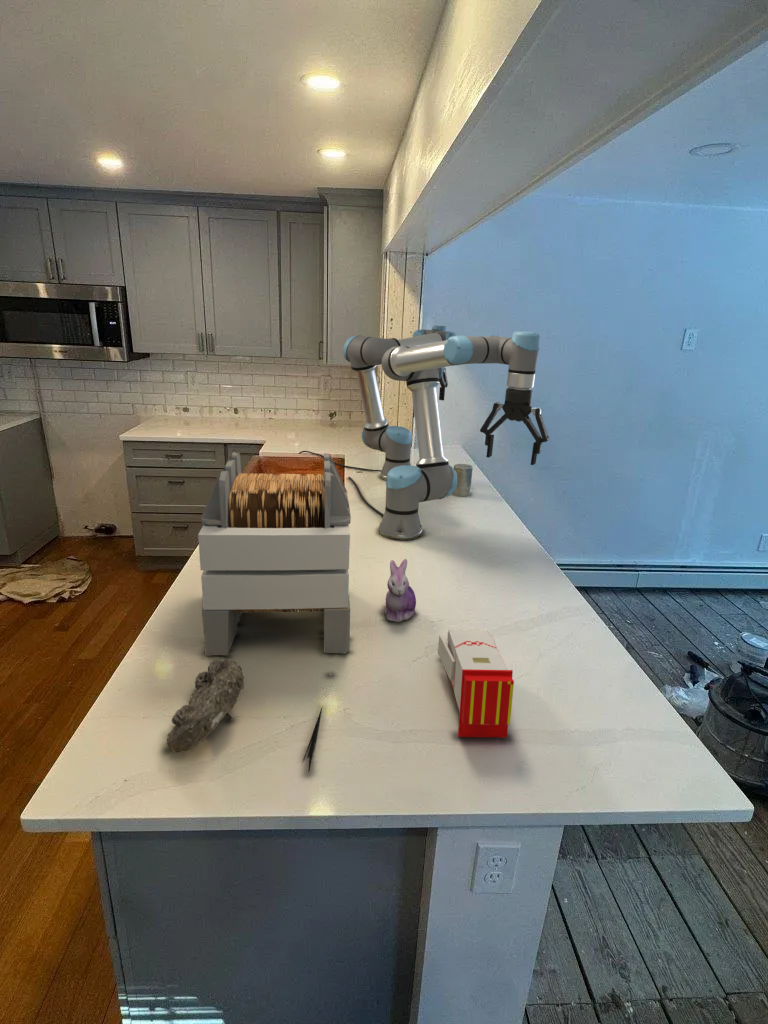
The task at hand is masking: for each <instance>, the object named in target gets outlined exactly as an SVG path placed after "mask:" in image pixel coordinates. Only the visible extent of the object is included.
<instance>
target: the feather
mask: <svg viewBox="0 0 768 1024" xmlns="http://www.w3.org/2000/svg"><path fill="white" fill-rule="evenodd" d="M329 675H330V676H331V675H332V674H331V673H330V674H329ZM322 710H323V707H321V708H320V710H319V713H318V716H317V719H316V723H315V725H314V728H313V731H312V733H311V737H310V739H309V742H308V745H307V748H306V751H305V754H304V757H303V760H302V763H301V767H302V765H303V763H304V761H305V758H308V759H309V760H308V762H307V763H308V764H307V766H308V771H310V770H311V766H312V765H311V764H312V760H313V757H315V756H314V755H315V751H316V749H315V746H317V739H318V733H319V729H320V722H321V717H322V712H323V711H322ZM313 754H314V755H313ZM306 755H307V757H306Z"/></svg>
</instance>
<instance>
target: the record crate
mask: <svg viewBox="0 0 768 1024" xmlns="http://www.w3.org/2000/svg"><path fill="white" fill-rule="evenodd" d="M323 456H324V458H323V473H322V474H321V473H318V474H316V475H315V474H314V473H306V474H303V475H302V474H301V473H280V474H273V473H244V472H243V473H242V466H241V463H242V462H241V453H240V452H235V451H233V452H231V455H230V457H229V459H227V460H226V463H225V466H224V468H223V470H222V471H220V474H219V475H218V477H217V479H216V482H215V483H214V486H213V489H212V491H211V494H210V495H209V498H208V499H207V502H206V505H205V507H204V509H203V511H202V514H201V517H200V520H201V524H202V527H201V529H200V530H199V532H198V535H197V538H198V550H199V552H198V553H199V563H200V565H199V567H200V571H202V573H201V575H200V580H201V581H200V582H201V594H202V605H203V607H202V609H201V610H202V611H201V617H202V629H203V638H204V639H203V640H204V649H205V650H204V651H205V652H204V655H205V656H206V657H212V656H228V654H229V652H230V650H231V647H232V645H233V643H234V640H235V638H236V635H237V632H238V623H240V620H241V617H242V614H244V613H250V614H251V613H253V614H254V613H257V614H258V613H298V612H301V613H302V612H308V613H309V612H322V614H323V654H344V655H346V654H347V653H349V652H350V639H351V604H350V595H349V594H350V593H349V586H350V585H349V584H350V572H349V571H350V570H349V569H350V549H351V548H350V547H351V545H350V542H351V533H350V532H351V531H350V526H349V525H350V524H351V520H352V516H351V515H352V514H351V509H350V502H349V496H348V490H347V488H346V486H345V484H344V482H343V480H342V478H341V474H340V473H339V471H338V469H337V465H336V464H334V462H335V461H334V460H333V458H332V455H331V454H330V453H326V452H324V453H323Z"/></svg>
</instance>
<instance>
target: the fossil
mask: <svg viewBox="0 0 768 1024" xmlns="http://www.w3.org/2000/svg"><path fill="white" fill-rule="evenodd" d="M243 670H244V669H243V667H242V665H240V664H237V662H236V661H235V660H234V659H232V658H231V659H227V658H226V659H224V660H223V661H222V660H217V659H212V660H211V661H210V663H209V665H208V666H207V671H201V672H199V673H198V674H197V675H196V676H195V680H194V684H195V685H194V687H195V689H194V690H193V693H192V694H191V697H190V698H189V700H188V704H184V705H182V706H181V707H180V709H177V710H176V711H175V713H174V715H173V716H172V718H171V723H172V724H173V727H172V730H171V731H170V732H168V734H167V738H166V741H167V742H166V745H167V749H168V750H169V751H173V752H174V753H176V754H178V753H182V752H188V751H189V752H192V751H193V750H195V748H196V747H197V746H199V744H200V743H201V742H203V741H204V740H205V739H206V738H207V737H208V736H209V735H210V734H211V733H212V732H214V730H215V729H217V727H218V726H219V724H220V722H221V721H222V720H223V719H224V718H225V716H226V717H227V719H229V720H233V717H232V715H230V714H229V710H230V709H231V708H234V706H235V704H236V703H237V702H238V699H239V697H240V695H241V693H242V691H243V690H245V689H244V688H245V675H244V671H243Z"/></svg>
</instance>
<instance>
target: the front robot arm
mask: <svg viewBox="0 0 768 1024" xmlns="http://www.w3.org/2000/svg"><path fill="white" fill-rule="evenodd" d="M511 336H512V337H505V336H499V335H486V336H472V335H471V336H467V335H457V336H453V337H450V338H449V339H448V340H445V341H440V342H435V343H431V344H426V345H421V346H397V347H392V348H390V349H389V350H387V351H386V352H385V354H384V355H383V358H382V364H381V368H382V371H383V373H384V374H385V375H386V376H387V377H388V378H389V379H390V380H393V381H398V382H406V383H405V384H406V388H407V389H408V390H409V391H410V392H411V396H412V397H411V398H412V405H413V406H412V407H413V414H414V423H415V430H416V439H417V441H416V442H417V448H418V457H419V459H418V461H417V462H416V463H415V465H412V464H411V465H408V466H405V465H403V466H397V467H394V468H392V469H391V470H390V471H389V472H388V474H387V480H385V504H384V505H385V507H384V508H385V509H384V513H382V512H381V511H380V510H378V509H377V508H375V507H374V506H373V505H371V504H370V503H369V502H368V501H367V500H366V499H365V497H364V496H363V494H362V492H361V491H360V489H359V486H358V485H357V483H356V482H355V481H354V480H353V478H352V477H350V476H348V479H349V480H350V481H351V482H352V483H353V485H354V486H355V488H356V490H357V492H358V494H359V496H360V498H361V500H363V502H364V503H365V504H366V505H367V506H368V507H369V508H371V509H372V510H373V511H375V512H376V513H377V514H379V515H380V516H381V517H382V519H381V522H379V525H378V533H379V534H380V535H381V536H382V537H385V538H387V539H389V540H395V541H410V540H415V539H418V538H420V537H421V536H422V535H423V525H422V524H421V518H420V515H419V507H420V506H419V505H420V503H424V502H430V501H437V500H443V499H445V498H448V497H449V498H450V497H451V496H452V495H453V492H454V491H455V489H456V486H457V474H456V471H454V466H452V465H451V464H450V463H449V459H448V458H446V457H445V455H444V448H443V440H442V439H443V438H442V430H441V421H440V411H439V404H438V396H437V387H438V386H439V385H440V382H439V379H440V378H441V377H442V375H443V371H444V369H445V368H446V367H447V368H449V367H453V366H462V365H475V364H477V365H478V364H480V365H481V364H499V365H507V366H508V371H507V379H506V386H507V388H506V389H505V395H504V403H500V402H499V401H497V402H494V403H493V405H492V409H491V411H490V413H489V414H488V416H487V417H486V419H485V421H484V422H483V424H482V426H481V427H480V429H479V432H480V433H483V434H484V435H485V439H484V446H486V447H487V448H486V455H485V456H486V458H491V457H493V449H494V441H495V434H493V433H494V432H495V431H496V430H497V429H498V428H499V427H500V426H501V425H503V424H504V422H506V421H507V420H509V421H511V422H512V421H514V422H515V421H516V422H520V423H521V422H522V423H523V424H524V425H525V426H526V428H527V429H528V431H529V433H530V435H531V436H532V437H533V439H534V440H535V441H534V442H533V444H532V451H531V459H530V466H534V465H536V463H537V456H538V455H540V454H541V452H542V446H543V443H546V442H548V441H550V436H549V433H548V430H547V427H546V424H545V421H544V417H543V408H542V407H540V406H539V407H532V402H533V394H534V391H533V388H534V386H535V377H536V369H537V363H538V357H539V352H540V334H539V333H538V332H535V331H525V330H524V331H522V330H521V331H520V330H516V331H514V332H513V333H512V335H511ZM501 410H503V413H504V414H503V415H501V417H500V418H499V419H498V420H496V422H495V423H494V424H493V425H491V424H492V422H493V421H494V419H495V418H496V416H497V414H498V413H499V411H501ZM531 413H532V414H533V416H534V417H535V421H536V423H537V427H536V426H535V424H534V423H533V421H532V419H531V417H530V414H531ZM490 425H491V427H490ZM489 427H490V428H489ZM537 428H538V429H537ZM538 430H539V431H538Z"/></svg>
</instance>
